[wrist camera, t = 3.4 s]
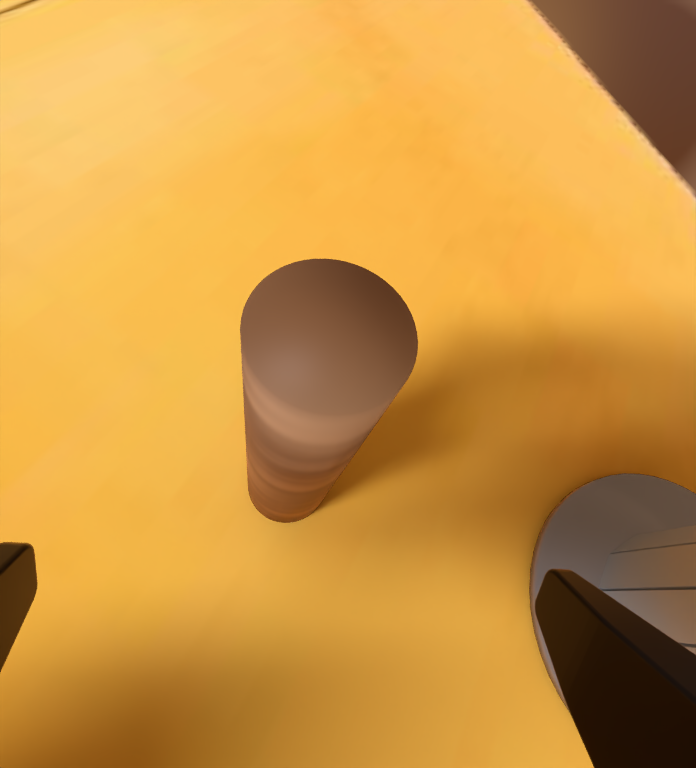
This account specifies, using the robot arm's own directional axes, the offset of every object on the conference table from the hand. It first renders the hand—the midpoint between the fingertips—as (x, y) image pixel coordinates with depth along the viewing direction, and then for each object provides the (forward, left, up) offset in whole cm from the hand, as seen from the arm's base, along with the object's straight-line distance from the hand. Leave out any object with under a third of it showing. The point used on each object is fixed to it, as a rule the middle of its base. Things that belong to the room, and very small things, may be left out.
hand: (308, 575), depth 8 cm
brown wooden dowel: (+3, -2, -11) cm, 11 cm away
